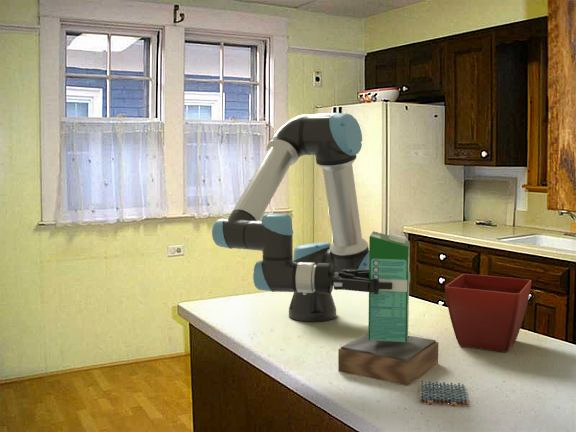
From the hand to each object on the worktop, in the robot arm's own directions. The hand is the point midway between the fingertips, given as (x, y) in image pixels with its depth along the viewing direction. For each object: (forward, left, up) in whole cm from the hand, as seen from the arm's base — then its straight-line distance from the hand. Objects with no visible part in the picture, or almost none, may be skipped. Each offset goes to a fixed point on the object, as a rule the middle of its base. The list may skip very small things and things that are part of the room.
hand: (408, 281), depth 160 cm
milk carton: (-4, -2, -14) cm, 14 cm away
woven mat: (+14, -13, -22) cm, 29 cm away
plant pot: (+10, +30, -22) cm, 39 cm away
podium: (-4, -2, -21) cm, 22 cm away
